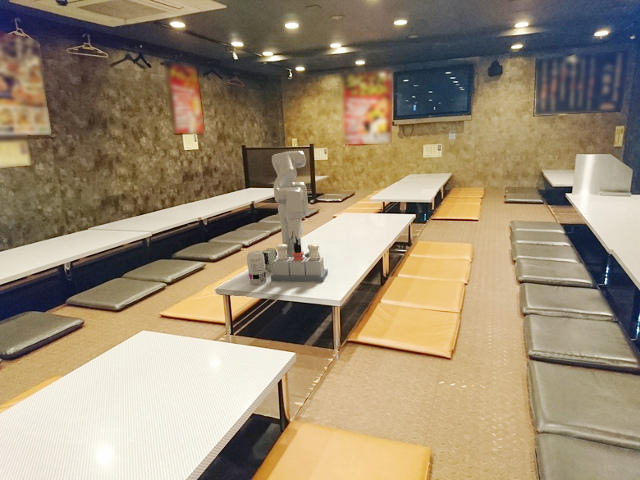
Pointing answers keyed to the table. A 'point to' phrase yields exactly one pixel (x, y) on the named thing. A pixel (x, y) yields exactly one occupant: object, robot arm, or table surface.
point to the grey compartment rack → (299, 270)
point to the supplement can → (256, 268)
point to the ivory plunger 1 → (282, 252)
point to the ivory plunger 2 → (313, 252)
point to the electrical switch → (309, 255)
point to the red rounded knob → (298, 256)
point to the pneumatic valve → (269, 258)
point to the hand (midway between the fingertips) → (297, 252)
